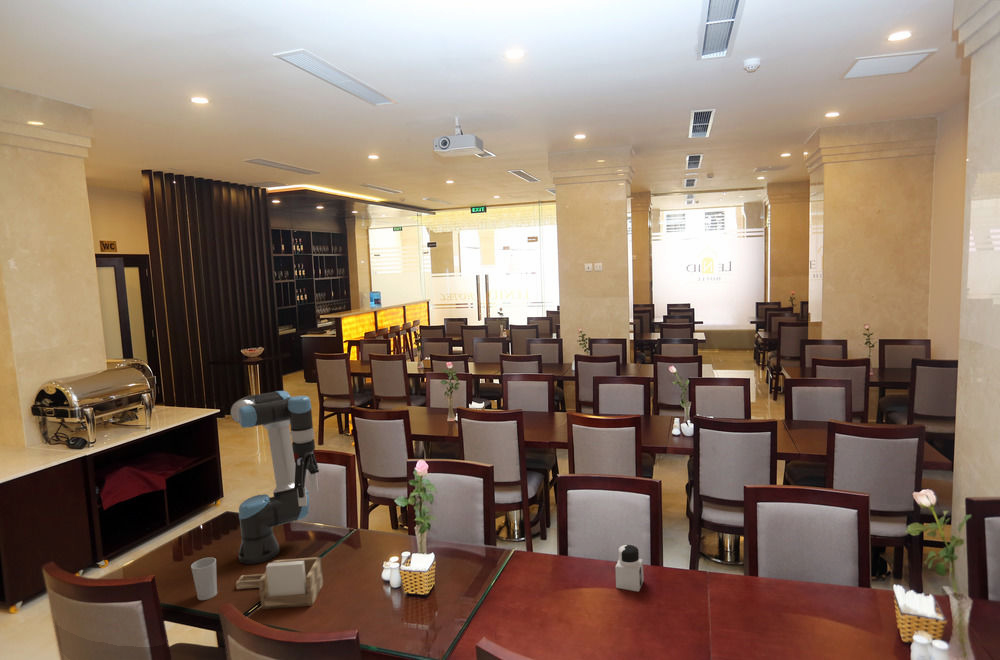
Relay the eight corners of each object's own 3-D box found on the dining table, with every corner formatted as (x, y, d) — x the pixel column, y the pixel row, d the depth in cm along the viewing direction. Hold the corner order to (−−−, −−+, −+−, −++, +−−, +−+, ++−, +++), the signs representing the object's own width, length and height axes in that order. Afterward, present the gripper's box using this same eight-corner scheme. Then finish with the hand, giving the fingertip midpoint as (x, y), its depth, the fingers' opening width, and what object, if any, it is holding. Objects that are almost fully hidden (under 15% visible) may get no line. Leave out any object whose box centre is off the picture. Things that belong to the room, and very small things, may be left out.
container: (643, 580, 200) (642, 544, 199) (639, 592, 193) (637, 554, 192) (621, 576, 204) (619, 541, 202) (615, 588, 197) (614, 551, 195)
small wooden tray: (242, 581, 216) (241, 575, 216) (281, 578, 217) (281, 572, 216) (236, 589, 211) (235, 582, 211) (277, 586, 212) (276, 579, 211)
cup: (209, 602, 204) (205, 569, 203) (189, 600, 205) (185, 568, 204) (224, 589, 212) (221, 557, 210) (205, 588, 213) (201, 557, 212)
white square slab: (272, 598, 201) (268, 562, 200) (307, 596, 202) (304, 560, 200) (270, 603, 199) (266, 566, 197) (305, 600, 199) (301, 564, 198)
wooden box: (275, 586, 211) (273, 560, 210) (323, 583, 212) (320, 556, 211) (261, 609, 197) (258, 581, 196) (312, 605, 198) (309, 577, 197)
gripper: (303, 431, 219) (308, 486, 221) (280, 451, 194) (286, 513, 197) (323, 429, 219) (328, 484, 222) (303, 450, 195) (309, 511, 197)
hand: (308, 498), depth 209 cm, fingers open, 13 cm apart
